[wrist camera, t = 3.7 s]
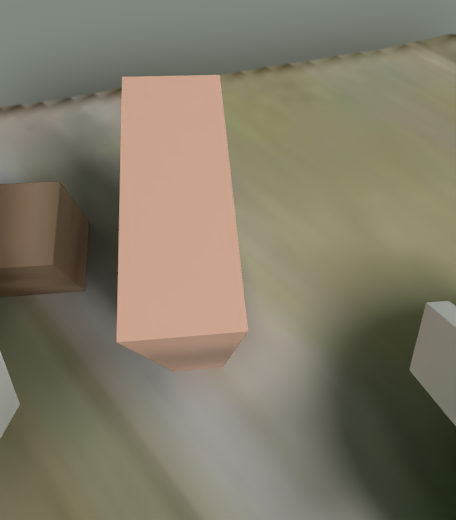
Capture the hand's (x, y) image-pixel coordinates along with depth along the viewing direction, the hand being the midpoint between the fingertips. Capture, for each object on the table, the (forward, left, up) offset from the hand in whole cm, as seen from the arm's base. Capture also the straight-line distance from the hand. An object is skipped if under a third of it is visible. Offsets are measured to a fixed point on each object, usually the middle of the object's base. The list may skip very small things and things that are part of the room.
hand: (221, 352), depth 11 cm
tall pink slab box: (-1, +4, -11) cm, 12 cm away
